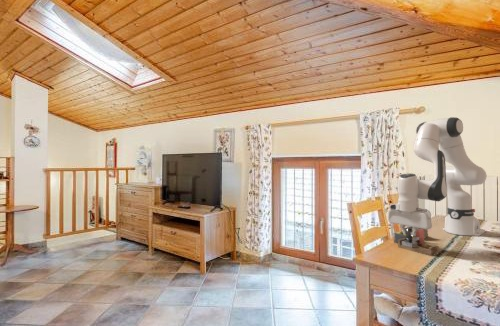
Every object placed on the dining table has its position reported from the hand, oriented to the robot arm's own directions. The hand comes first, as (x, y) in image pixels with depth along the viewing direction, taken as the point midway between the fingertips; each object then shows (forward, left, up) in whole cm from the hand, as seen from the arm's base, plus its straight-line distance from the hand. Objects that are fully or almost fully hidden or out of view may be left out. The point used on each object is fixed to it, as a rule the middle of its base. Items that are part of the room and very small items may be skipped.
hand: (409, 234), depth 137 cm
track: (0, +4, -7) cm, 8 cm away
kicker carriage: (-4, 0, -5) cm, 7 cm away
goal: (-9, -7, -7) cm, 13 cm away
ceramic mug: (-23, -9, -7) cm, 26 cm away
